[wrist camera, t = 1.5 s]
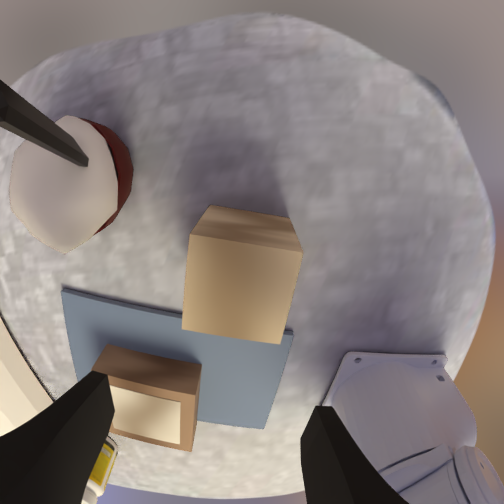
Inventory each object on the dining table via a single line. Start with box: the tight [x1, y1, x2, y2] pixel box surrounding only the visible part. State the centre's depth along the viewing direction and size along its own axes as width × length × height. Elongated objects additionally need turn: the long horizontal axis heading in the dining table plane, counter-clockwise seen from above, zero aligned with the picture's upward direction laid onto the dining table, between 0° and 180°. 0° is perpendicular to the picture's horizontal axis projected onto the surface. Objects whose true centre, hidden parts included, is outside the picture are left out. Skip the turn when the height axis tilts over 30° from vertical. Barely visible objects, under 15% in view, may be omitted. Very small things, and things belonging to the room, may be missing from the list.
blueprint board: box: [61, 288, 294, 429], centre depth 21 cm, size 16×10×1 cm, turn 80°
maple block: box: [182, 205, 303, 344], centre depth 15 cm, size 4×4×6 cm
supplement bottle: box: [81, 436, 118, 504], centre depth 21 cm, size 5×5×8 cm
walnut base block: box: [91, 344, 202, 452], centre depth 20 cm, size 7×7×3 cm
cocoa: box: [0, 80, 134, 254], centre depth 11 cm, size 10×6×12 cm, turn 106°
